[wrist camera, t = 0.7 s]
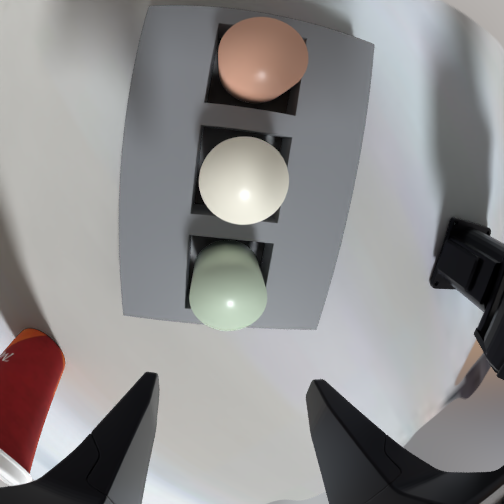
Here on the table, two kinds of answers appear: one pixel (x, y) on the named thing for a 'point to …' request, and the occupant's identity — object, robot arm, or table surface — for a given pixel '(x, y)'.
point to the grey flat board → (248, 120)
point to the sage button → (227, 286)
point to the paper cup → (25, 400)
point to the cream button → (243, 180)
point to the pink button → (261, 59)
